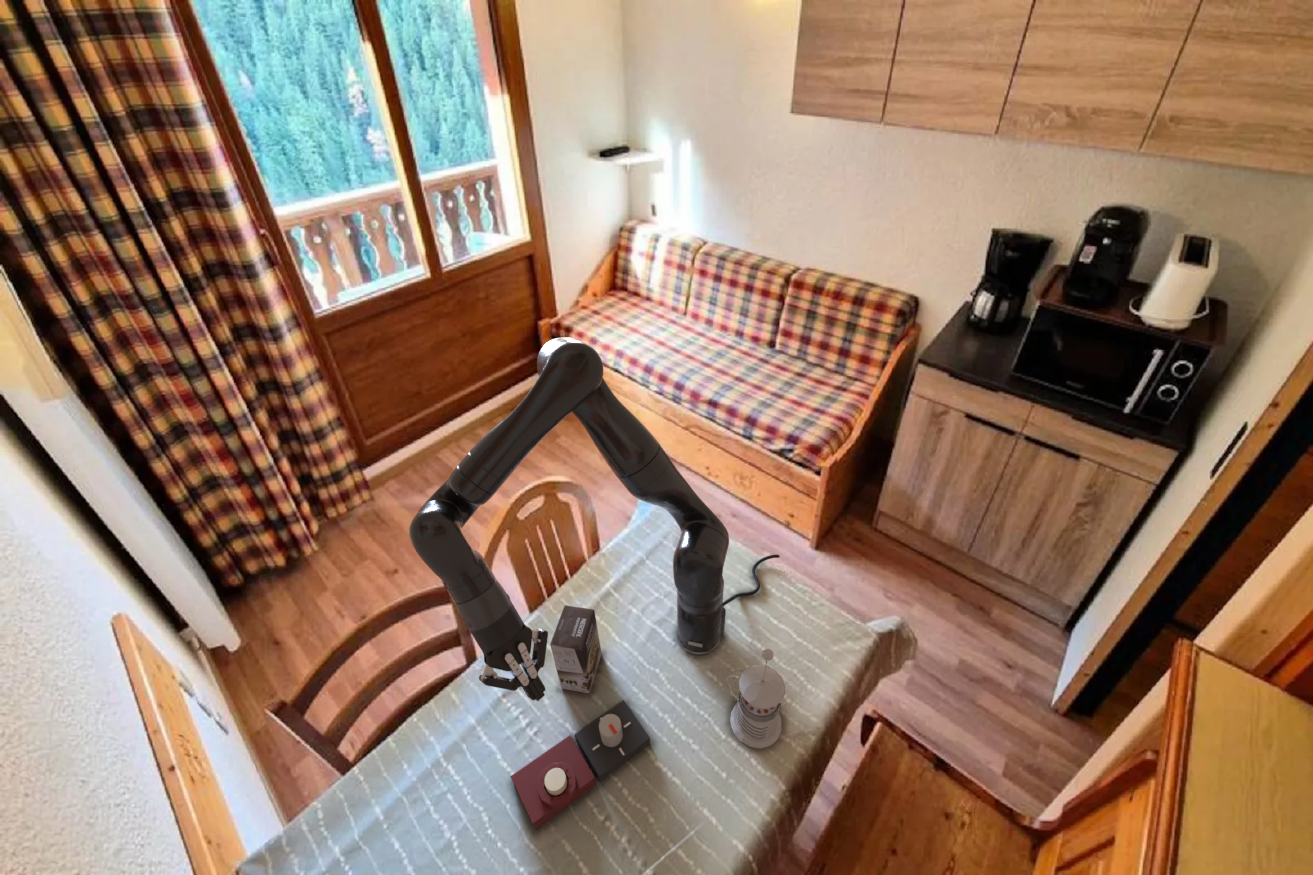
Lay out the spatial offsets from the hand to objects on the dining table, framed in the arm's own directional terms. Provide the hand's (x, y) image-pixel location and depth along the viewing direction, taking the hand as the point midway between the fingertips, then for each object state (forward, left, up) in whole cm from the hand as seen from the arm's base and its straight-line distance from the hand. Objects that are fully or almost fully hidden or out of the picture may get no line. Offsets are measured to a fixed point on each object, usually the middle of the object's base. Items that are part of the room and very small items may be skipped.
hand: (539, 697), depth 95 cm
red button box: (+3, +6, -19) cm, 20 cm away
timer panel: (-10, +5, -19) cm, 22 cm away
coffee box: (-11, -11, -19) cm, 25 cm away
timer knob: (-10, +5, -17) cm, 20 cm away
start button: (+2, +8, -14) cm, 17 cm away
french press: (-35, +15, -19) cm, 42 cm away
